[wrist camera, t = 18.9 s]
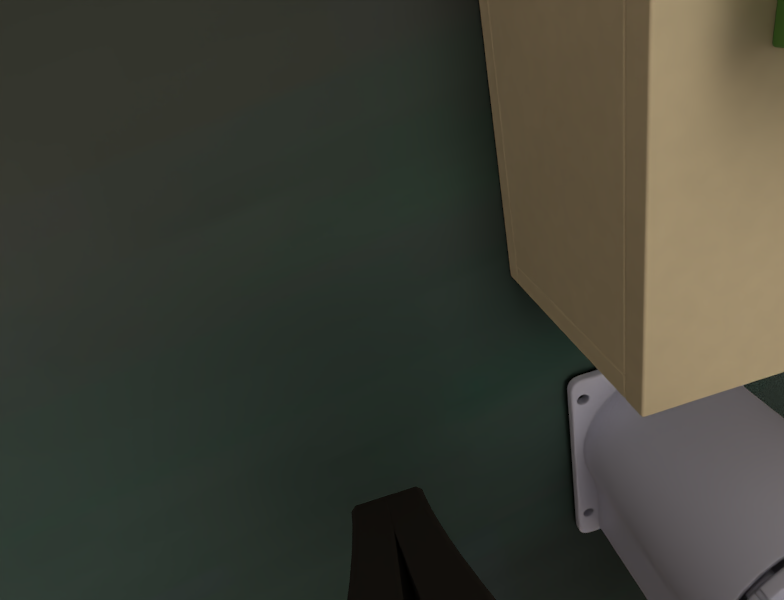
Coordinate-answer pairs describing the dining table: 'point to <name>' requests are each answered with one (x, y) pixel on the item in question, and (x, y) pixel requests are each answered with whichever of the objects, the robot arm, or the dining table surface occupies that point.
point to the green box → (779, 25)
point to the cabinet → (646, 184)
